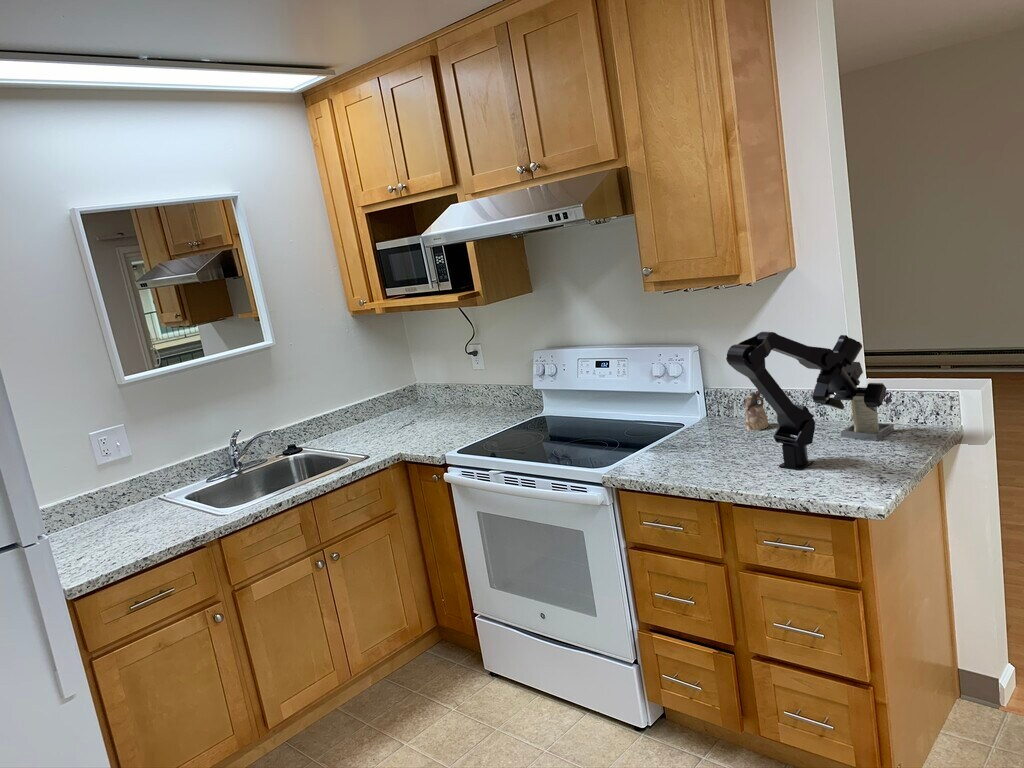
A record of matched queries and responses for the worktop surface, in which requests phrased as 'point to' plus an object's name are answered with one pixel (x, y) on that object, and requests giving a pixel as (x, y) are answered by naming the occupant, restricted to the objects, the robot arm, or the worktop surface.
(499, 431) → the worktop surface
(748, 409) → the figurine
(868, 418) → the skincare box
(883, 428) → the square gray open tray
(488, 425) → the worktop surface
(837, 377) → the robot arm
